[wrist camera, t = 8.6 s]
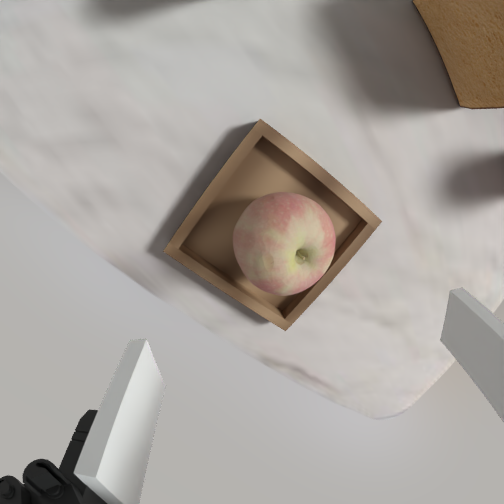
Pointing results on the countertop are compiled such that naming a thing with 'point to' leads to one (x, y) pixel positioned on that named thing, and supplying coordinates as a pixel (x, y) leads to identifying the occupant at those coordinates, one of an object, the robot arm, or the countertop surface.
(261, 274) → the apple
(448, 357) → the countertop surface
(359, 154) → the countertop surface
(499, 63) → the bread
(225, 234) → the walnut tray
